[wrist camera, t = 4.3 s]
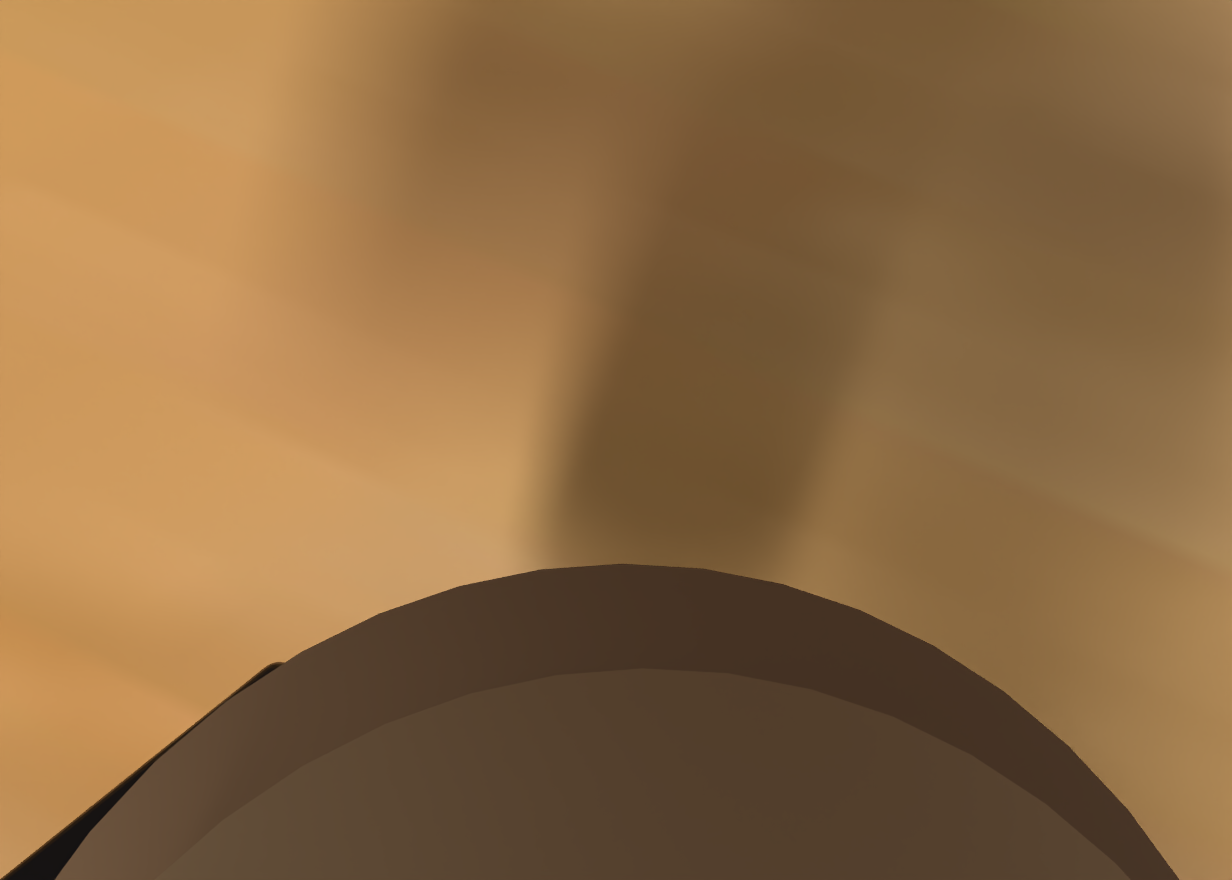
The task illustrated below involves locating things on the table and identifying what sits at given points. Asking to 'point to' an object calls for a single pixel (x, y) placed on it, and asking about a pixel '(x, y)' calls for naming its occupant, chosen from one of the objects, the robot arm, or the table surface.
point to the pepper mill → (620, 751)
